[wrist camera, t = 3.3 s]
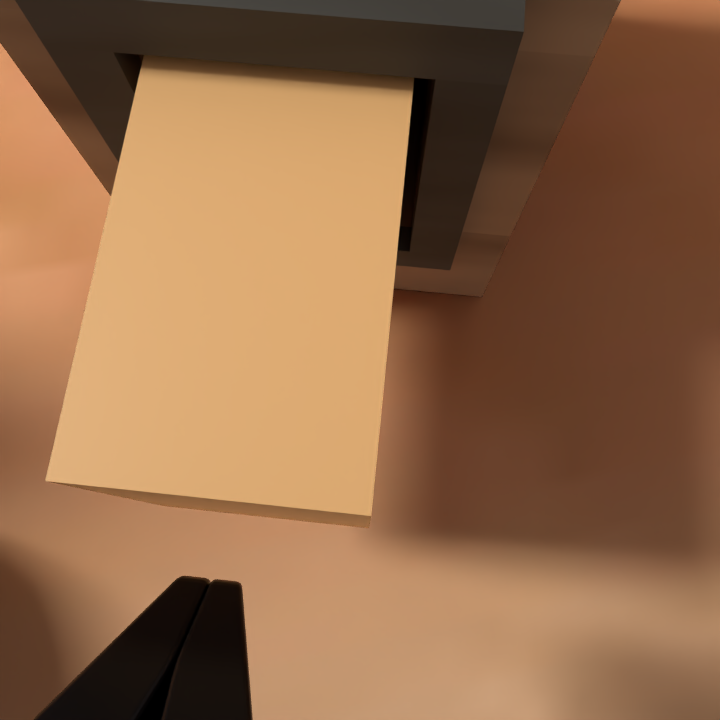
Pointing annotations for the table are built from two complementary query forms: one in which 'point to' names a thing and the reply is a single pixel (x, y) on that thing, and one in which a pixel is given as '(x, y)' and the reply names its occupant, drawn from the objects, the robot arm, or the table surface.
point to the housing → (358, 55)
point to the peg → (242, 294)
